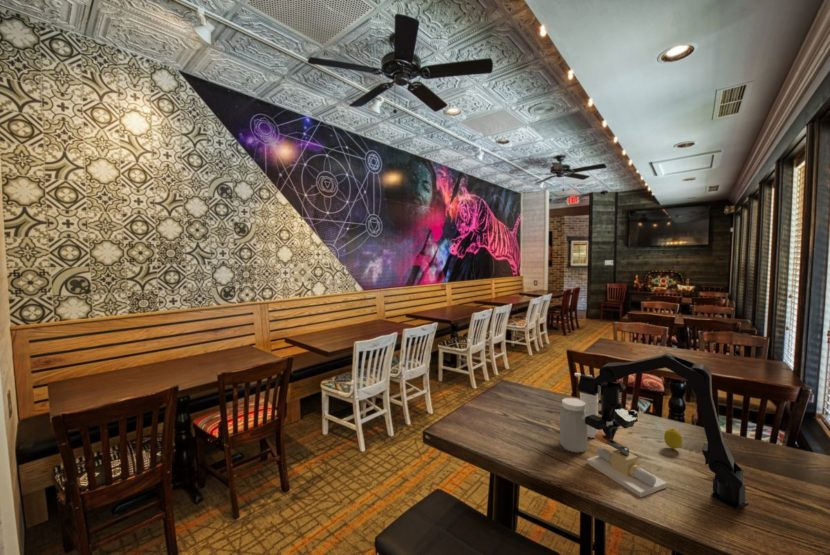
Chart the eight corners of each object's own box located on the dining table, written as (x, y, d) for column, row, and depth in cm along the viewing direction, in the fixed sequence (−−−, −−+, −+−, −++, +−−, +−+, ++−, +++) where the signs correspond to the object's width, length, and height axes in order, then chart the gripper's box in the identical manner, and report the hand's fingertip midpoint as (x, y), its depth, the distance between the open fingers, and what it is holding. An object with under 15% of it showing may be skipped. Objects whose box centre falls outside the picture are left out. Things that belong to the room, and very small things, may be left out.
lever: (631, 454, 118) (631, 448, 118) (625, 456, 117) (625, 450, 117) (600, 437, 129) (600, 432, 129) (594, 439, 128) (594, 433, 128)
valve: (666, 487, 112) (667, 465, 111) (640, 497, 107) (640, 474, 107) (611, 455, 130) (611, 437, 130) (586, 462, 126) (586, 443, 126)
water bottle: (598, 432, 148) (598, 373, 147) (597, 439, 142) (597, 378, 141) (575, 428, 152) (575, 371, 151) (573, 434, 146) (573, 375, 145)
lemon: (685, 453, 131) (685, 432, 130) (668, 452, 132) (668, 431, 131) (677, 445, 136) (677, 425, 136) (661, 444, 137) (661, 424, 137)
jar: (555, 447, 137) (555, 402, 136) (565, 438, 144) (565, 394, 143) (582, 457, 130) (582, 409, 129) (591, 446, 137) (591, 401, 136)
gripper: (611, 412, 116) (611, 458, 117) (649, 402, 123) (649, 446, 124) (583, 400, 126) (583, 442, 127) (620, 391, 133) (620, 432, 134)
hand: (610, 441), depth 128 cm, fingers closed
